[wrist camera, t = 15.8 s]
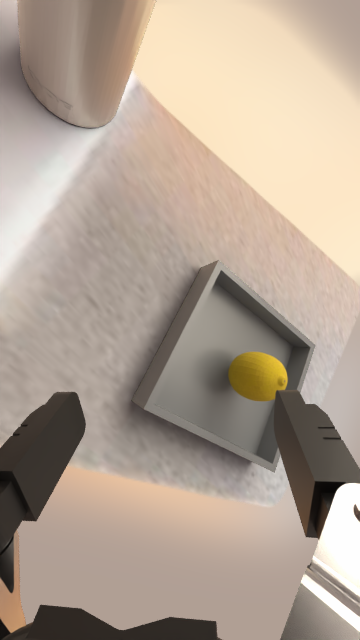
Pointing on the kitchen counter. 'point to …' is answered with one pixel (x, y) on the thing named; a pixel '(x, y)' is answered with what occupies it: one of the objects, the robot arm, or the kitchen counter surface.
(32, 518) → the robot arm
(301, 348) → the tray
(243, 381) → the lemon
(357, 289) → the kitchen counter surface
